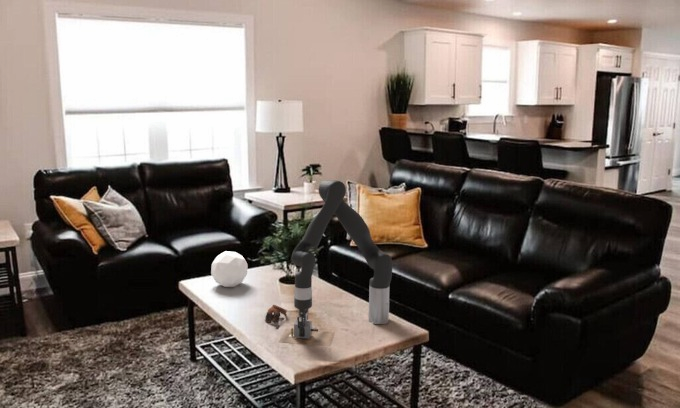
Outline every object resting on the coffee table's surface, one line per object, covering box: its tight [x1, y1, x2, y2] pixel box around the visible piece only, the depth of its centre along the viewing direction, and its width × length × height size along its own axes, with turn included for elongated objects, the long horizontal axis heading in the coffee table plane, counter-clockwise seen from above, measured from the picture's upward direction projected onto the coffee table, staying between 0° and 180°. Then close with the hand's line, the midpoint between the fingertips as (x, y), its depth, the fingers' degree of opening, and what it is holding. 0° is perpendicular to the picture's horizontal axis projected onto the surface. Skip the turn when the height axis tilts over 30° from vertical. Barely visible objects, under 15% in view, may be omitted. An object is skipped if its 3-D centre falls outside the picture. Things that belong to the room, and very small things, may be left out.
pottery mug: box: [264, 304, 287, 325], centre depth 266 cm, size 12×10×8 cm
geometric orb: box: [210, 250, 249, 288], centre depth 311 cm, size 19×20×20 cm
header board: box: [278, 327, 335, 347], centre depth 247 cm, size 22×14×5 cm, turn 83°
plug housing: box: [293, 320, 319, 339], centre depth 246 cm, size 10×4×6 cm, turn 83°
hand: (303, 333), depth 246 cm, fingers closed on plug housing, 4 cm apart
